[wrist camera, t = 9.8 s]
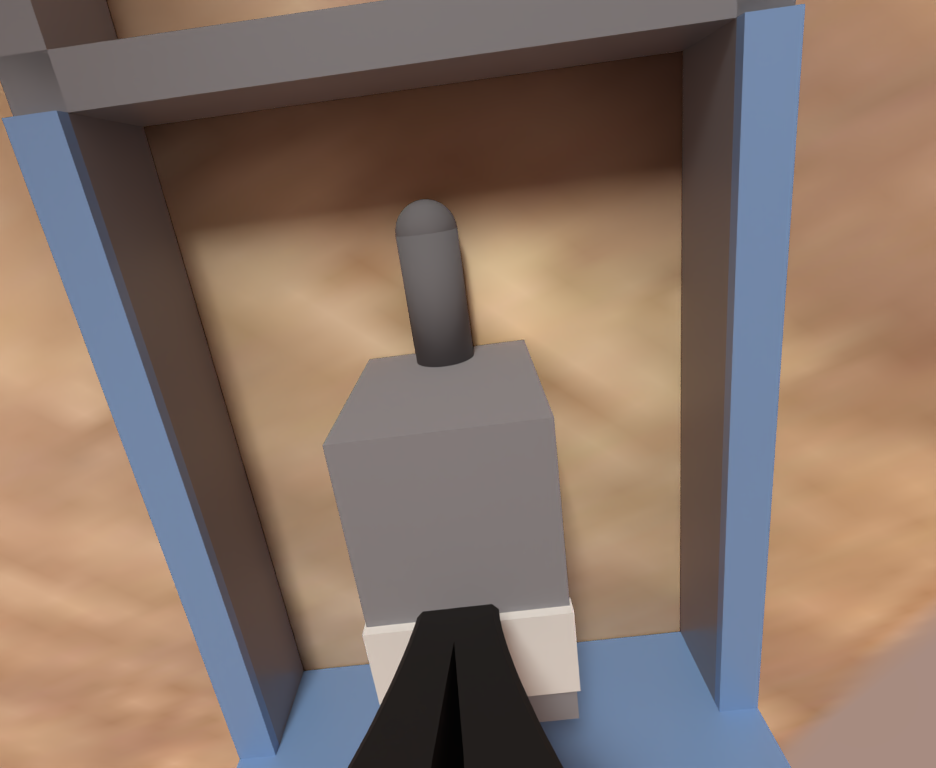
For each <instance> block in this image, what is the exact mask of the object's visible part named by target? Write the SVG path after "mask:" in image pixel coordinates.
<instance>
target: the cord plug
mask: <svg viewBox="0 0 936 768" xmlns="http://www.w3.org/2000/svg"><path fill="white" fill-rule="evenodd" d="M395 232H396V241H397V247H398V253H399V259H400V265H401V270H402V276H403V282H404V288H405V294H406V300H407V306H408V312H409V318H410V324H411V330H412V335H413V341H414V347H415V353H416V354H408V355H401V356H393V357H385V358H377V359H369V361H368V363H367V365H366V367H365V369H364V370H363V372H362V374H361V376H360V378H359V380H358V381H357V383H356V385H355V387H354V389H353V391H352V392H351V394H350V396H349V398H348V400H347V402H346V403H345V405H344V407H343V409H342V411H341V413H340V414H339V416H338V418H337V420H336V422H335V424H334V425H333V427H332V429H331V431H330V433H329V435H328V436H327V438H326V440H325V442H324V444H323V450H324V454H325V458H326V462H327V466H328V470H329V474H330V478H331V482H332V487H333V491H334V495H335V499H336V503H337V507H338V511H339V515H340V519H341V524H342V528H343V532H344V536H345V540H346V544H347V548H348V552H349V557H350V561H351V565H352V569H353V573H354V577H355V581H356V585H357V589H358V594H359V598H360V602H361V606H362V610H363V614H364V618H365V627H364V631H363V635H362V636H363V640H364V644H365V648H366V652H367V656H368V660H369V664H370V668H371V672H372V676H373V680H374V684H375V688H376V692H377V696H378V700H379V704H380V705H381V703H382V701H383V698H384V696H385V694H386V692H387V690H388V688H389V686H390V684H391V682H392V680H393V677H394V675H395V673H396V671H397V668H398V666H399V664H400V661H401V659H402V657H403V654H404V652H405V649H406V647H407V644H408V642H409V639H410V637H411V634H412V631H413V629H414V626H415V623H416V620H417V617H418V616H419V615H420V614H421V613H422V612H423V611H432V610H441V609H450V608H460V607H469V606H478V605H487V604H493V605H494V606H495V607H497V608H498V609H499V614H500V621H501V625H502V630H503V633H504V637H505V640H506V643H507V646H508V649H509V652H510V655H511V657H512V660H513V663H514V666H515V668H516V671H517V673H518V676H519V678H520V680H521V683H522V685H523V687H524V689H525V692H526V694H527V696H528V698H529V700H530V703H531V705H532V707H533V709H534V711H535V714H536V716H537V718H538V720H539V722H547V721H557V720H567V719H577V718H579V710H578V698H577V691H581V690H580V678H579V665H578V653H577V641H576V628H575V616H574V610H573V606H572V602H571V598H569V591H568V579H567V567H566V555H565V543H564V531H563V519H562V507H561V496H560V484H559V472H558V460H557V448H556V436H555V424H554V416H553V414H552V411H551V408H550V406H549V403H548V401H547V398H546V396H545V393H544V390H543V388H542V385H541V383H540V380H539V377H538V375H537V372H536V370H535V367H534V364H533V362H532V359H531V357H530V354H529V351H528V349H527V346H526V344H525V341H524V340H519V341H511V342H503V343H495V344H487V345H479V346H473V344H472V336H471V329H470V321H469V314H468V306H467V298H466V291H465V283H464V276H463V268H462V260H461V253H460V245H459V238H458V230H457V225H456V221H455V219H454V216H453V215H452V213H451V212H450V210H449V209H448V208H447V207H446V206H444V205H443V204H441V203H440V202H437V201H435V200H430V199H421V200H417V201H414V202H412V203H410V204H409V205H408V206H406V207H405V208H404V209H403V210H402V212H401V213H400V215H399V217H398V219H397V222H396V229H395Z"/></svg>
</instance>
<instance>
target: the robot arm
mask: <svg viewBox="0 0 936 768" xmlns="http://www.w3.org/2000/svg"><path fill="white" fill-rule="evenodd" d="M348 768H563V766H562V764H561V762H560V760H559V759H558V757H557V755H556V753H555V751H554V749H553V747H552V745H551V743H550V742H549V740H548V738H547V736H546V734H545V732H544V730H543V728H542V726H541V724H540V722H539V720H538V718H537V716H536V714H535V711H534V709H533V707H532V705H531V703H530V700H529V698H528V696H527V694H526V692H525V689H524V687H523V685H522V683H521V680H520V678H519V676H518V673H517V671H516V668H515V666H514V663H513V660H512V657H511V655H510V652H509V649H508V646H507V643H506V640H505V637H504V633H503V630H502V625H501V621H500V614H499V609H498V608H497V607H495V606H494V605H493V604H487V605H478V606H469V607H460V608H450V609H441V610H432V611H423V612H422V613H421V614H420V615H419V616H418V617H417V620H416V623H415V626H414V629H413V631H412V634H411V637H410V639H409V642H408V644H407V647H406V649H405V652H404V654H403V657H402V659H401V661H400V664H399V666H398V668H397V671H396V673H395V675H394V677H393V680H392V682H391V684H390V686H389V688H388V690H387V692H386V694H385V696H384V698H383V701H382V703H381V705H380V707H379V709H378V711H377V713H376V715H375V717H374V719H373V721H372V723H371V725H370V727H369V729H368V731H367V733H366V735H365V737H364V739H363V740H362V742H361V744H360V746H359V748H358V749H357V751H356V753H355V755H354V757H353V759H352V760H351V762H350V764H349V766H348Z"/></svg>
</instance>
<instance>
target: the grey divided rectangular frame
mask: <svg viewBox="0 0 936 768" xmlns="http://www.w3.org/2000/svg"><path fill="white" fill-rule="evenodd" d="M795 3H796V0H384V1H377V2H370V3H363V4H356V5H350V6H343V7H336V8H329V9H322V10H315V11H308V12H302V13H295V14H288V15H281V16H274V17H267V18H261V19H254V20H247V21H240V22H233V23H226V24H220V25H213V26H206V27H199V28H192V29H185V30H179V31H172V32H165V33H158V34H151V35H144V36H138V37H131V38H124V39H117V36H116V33H115V29H114V26H113V23H112V19H111V16H110V12H109V9H108V6H107V2H106V0H0V81H1V84H2V87H3V90H4V92H5V95H6V98H7V101H8V103H9V106H10V109H11V112H12V114H13V117H6V118H2V121H3V123H4V126H5V129H6V131H7V134H8V137H9V139H10V142H11V145H12V147H13V150H14V153H15V156H16V158H17V161H18V164H19V166H20V169H21V172H22V174H23V177H24V180H25V182H26V185H27V188H28V191H29V193H30V196H31V199H32V201H33V204H34V207H35V209H36V212H37V215H38V217H39V220H40V223H41V225H42V228H43V231H44V234H45V236H46V239H47V242H48V244H49V247H50V250H51V252H52V255H53V258H54V260H55V263H56V266H57V269H58V271H59V274H60V277H61V279H62V282H63V285H64V287H65V290H66V293H67V295H68V298H69V301H70V303H71V306H72V309H73V312H74V314H75V317H76V320H77V322H78V325H79V328H80V330H81V333H82V336H83V338H84V341H85V344H86V347H87V349H88V352H89V355H90V357H91V360H92V363H93V365H94V368H95V371H96V373H97V376H98V379H99V381H100V384H101V387H102V390H103V392H104V395H105V398H106V400H107V403H108V406H109V408H110V411H111V414H112V416H113V419H114V422H115V425H116V427H117V430H118V433H119V435H120V438H121V441H122V443H123V446H124V449H125V451H126V454H127V457H128V459H129V462H130V465H131V468H132V470H133V473H134V476H135V478H136V481H137V484H138V486H139V489H140V492H141V494H142V497H143V500H144V503H145V505H146V508H147V511H148V513H149V516H150V519H151V521H152V524H153V527H154V529H155V532H156V535H157V537H158V540H159V543H160V546H161V548H162V551H163V554H164V556H165V559H166V562H167V564H168V567H169V570H170V572H171V575H172V578H173V581H174V583H175V586H176V589H177V591H178V594H179V597H180V599H181V602H182V605H183V607H184V610H185V613H186V616H187V618H188V621H189V624H190V626H191V629H192V632H193V634H194V637H195V640H196V642H197V645H198V648H199V650H200V653H201V656H202V659H203V661H204V664H205V667H206V669H207V672H208V675H209V677H210V680H211V683H212V685H213V688H214V691H215V694H216V696H217V699H218V702H219V704H220V707H221V710H222V712H223V715H224V718H225V720H226V723H227V726H228V728H229V731H230V734H231V737H232V739H233V742H234V745H235V747H236V750H237V753H238V755H239V758H240V760H239V763H238V766H237V768H348V766H349V764H350V762H351V760H352V759H353V757H354V755H355V753H356V751H357V749H358V748H359V746H360V744H361V742H362V740H363V739H364V737H365V735H366V733H367V731H368V729H369V727H370V725H371V723H372V721H373V719H374V717H375V715H376V713H377V711H378V709H379V707H380V704H379V700H378V696H377V692H376V688H375V684H374V680H373V676H372V672H371V668H370V664H366V665H356V666H347V667H337V668H328V669H318V670H309V671H304V670H303V667H302V663H301V660H300V657H299V653H298V650H297V646H296V643H295V640H294V636H293V633H292V629H291V626H290V623H289V619H288V616H287V612H286V609H285V606H284V602H283V599H282V596H281V592H280V589H279V585H278V582H277V579H276V575H275V572H274V568H273V565H272V562H271V558H270V555H269V551H268V548H267V545H266V541H265V538H264V535H263V531H262V528H261V524H260V521H259V518H258V514H257V511H256V507H255V504H254V501H253V497H252V494H251V490H250V487H249V484H248V480H247V477H246V473H245V470H244V467H243V463H242V460H241V457H240V453H239V450H238V446H237V443H236V440H235V436H234V433H233V429H232V426H231V423H230V419H229V416H228V412H227V409H226V406H225V402H224V399H223V396H222V392H221V389H220V385H219V382H218V379H217V375H216V372H215V368H214V365H213V362H212V358H211V355H210V351H209V348H208V345H207V341H206V338H205V334H204V331H203V328H202V324H201V321H200V318H199V314H198V311H197V307H196V304H195V301H194V297H193V294H192V290H191V287H190V284H189V280H188V277H187V273H186V270H185V267H184V263H183V260H182V256H181V253H180V250H179V246H178V243H177V240H176V236H175V233H174V229H173V226H172V223H171V219H170V216H169V212H168V209H167V206H166V202H165V199H164V195H163V192H162V189H161V185H160V182H159V179H158V175H157V172H156V168H155V165H154V162H153V158H152V155H151V151H150V148H149V145H148V141H147V138H146V134H145V131H144V128H143V127H145V126H152V125H159V124H166V123H174V122H181V121H188V120H195V119H202V118H209V117H216V116H223V115H230V114H238V113H245V112H252V111H259V110H266V109H273V108H280V107H287V106H295V105H302V104H309V103H316V102H323V101H330V100H337V99H344V98H352V97H359V96H366V95H373V94H380V93H387V92H394V91H401V90H409V89H416V88H423V87H430V86H437V85H444V84H451V83H458V82H465V81H473V80H480V79H487V78H494V77H501V76H508V75H515V74H522V73H530V72H537V71H544V70H551V69H558V68H565V67H572V66H579V65H587V64H594V63H601V62H608V61H615V60H622V59H629V58H636V57H644V56H651V55H658V54H665V53H672V52H679V51H683V127H682V357H681V588H680V632H672V633H663V634H653V635H644V636H634V637H624V638H615V639H605V640H596V641H586V642H577V653H578V665H579V678H580V690H581V691H577V698H578V710H579V718H577V719H567V720H557V721H547V722H540V724H541V726H542V728H543V730H544V732H545V734H546V736H547V738H548V740H549V742H550V743H551V745H552V747H553V749H554V751H555V753H556V755H557V757H558V759H559V760H560V762H561V764H562V766H563V768H791V766H790V765H789V763H788V761H787V759H786V758H785V756H784V754H783V752H782V750H781V749H780V747H779V745H778V743H777V742H776V740H775V738H774V736H773V735H772V733H771V731H770V729H769V727H768V726H767V724H766V722H765V720H764V719H763V717H762V715H761V713H760V711H759V710H758V693H759V678H760V663H761V649H762V634H763V619H764V604H765V590H766V575H767V560H768V546H769V531H770V516H771V501H772V487H773V472H774V457H775V442H776V428H777V413H778V398H779V383H780V369H781V354H782V339H783V324H784V310H785V295H786V280H787V265H788V251H789V236H790V221H791V206H792V192H793V177H794V162H795V147H796V133H797V118H798V103H799V89H800V74H801V59H802V44H803V30H804V15H805V4H801V5H795Z"/></svg>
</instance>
